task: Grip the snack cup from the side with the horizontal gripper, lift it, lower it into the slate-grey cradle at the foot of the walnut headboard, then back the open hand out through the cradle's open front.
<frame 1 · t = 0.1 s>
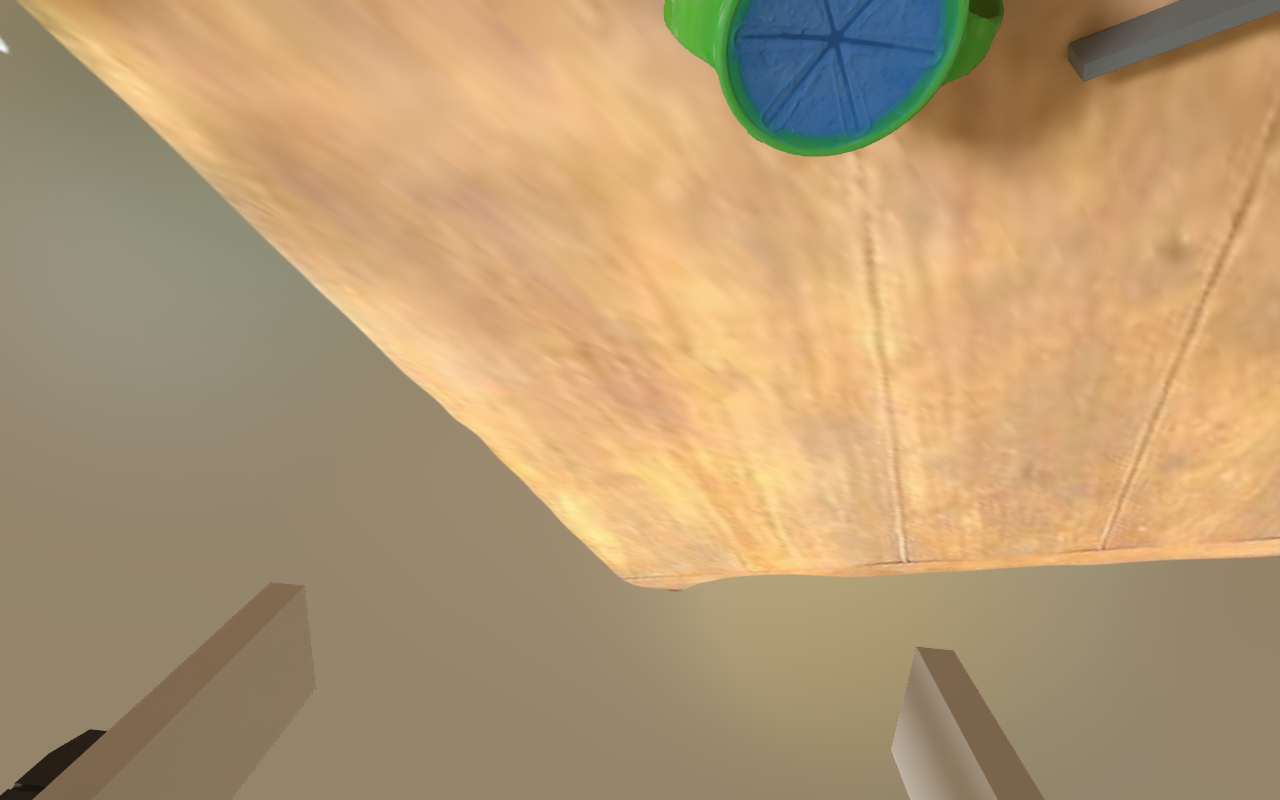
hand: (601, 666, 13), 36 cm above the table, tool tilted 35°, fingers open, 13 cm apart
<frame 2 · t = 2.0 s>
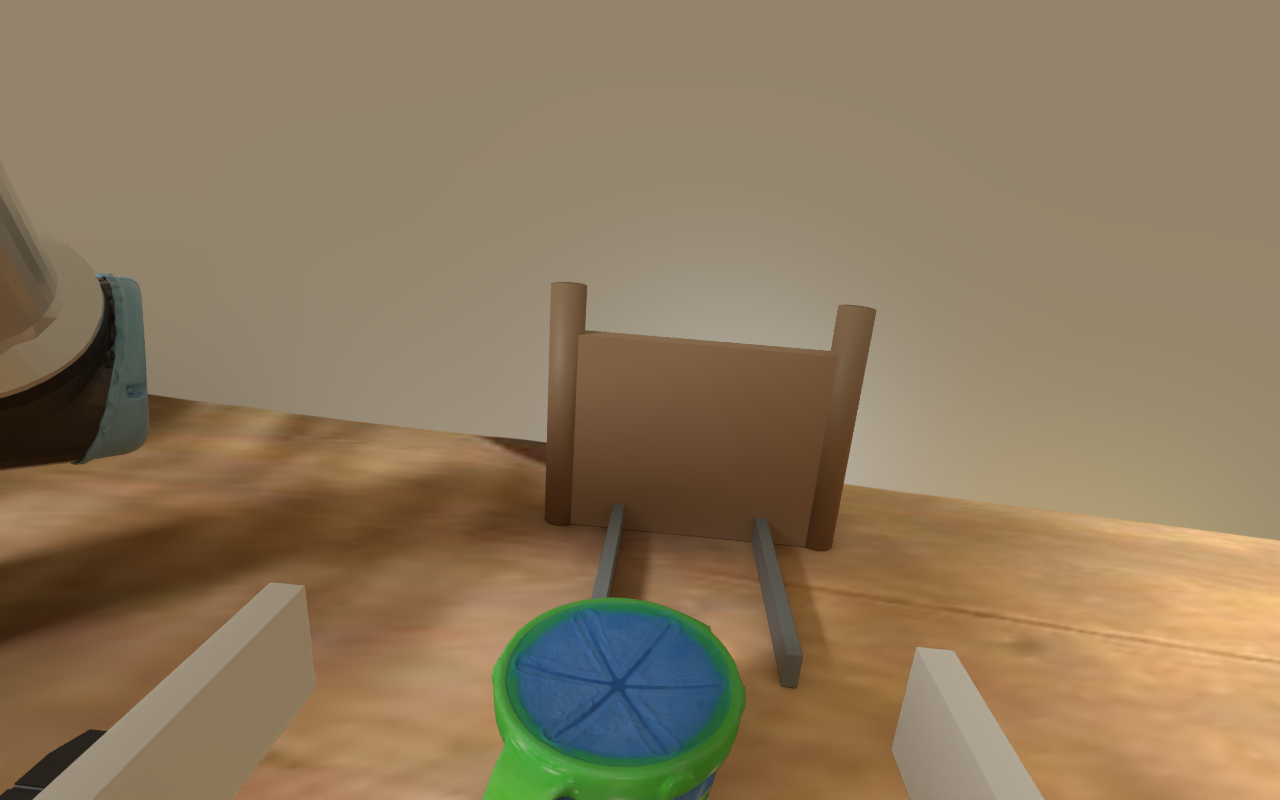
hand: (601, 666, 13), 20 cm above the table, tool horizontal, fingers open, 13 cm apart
headboard cradle: (687, 597, 48), on the table
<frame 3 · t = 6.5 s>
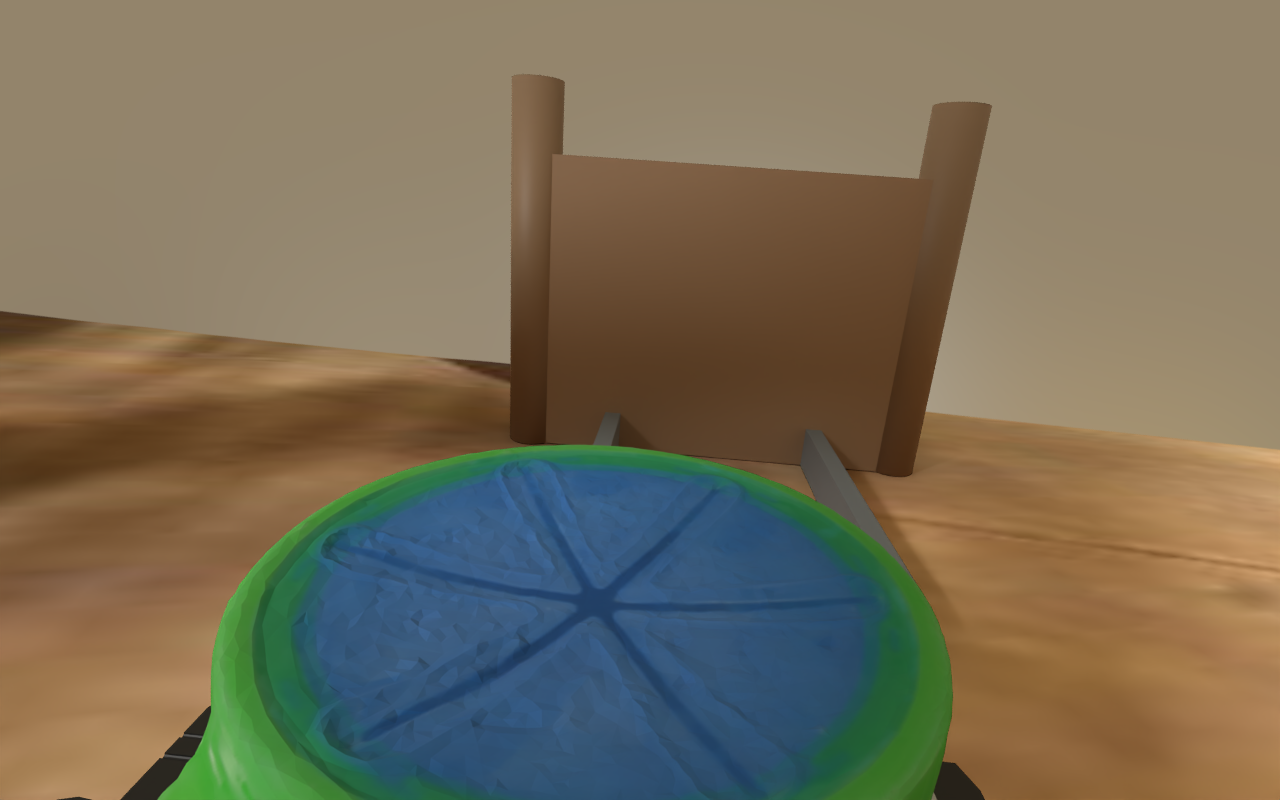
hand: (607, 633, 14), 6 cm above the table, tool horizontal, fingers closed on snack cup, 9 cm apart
headboard cradle: (716, 527, 32), on the table
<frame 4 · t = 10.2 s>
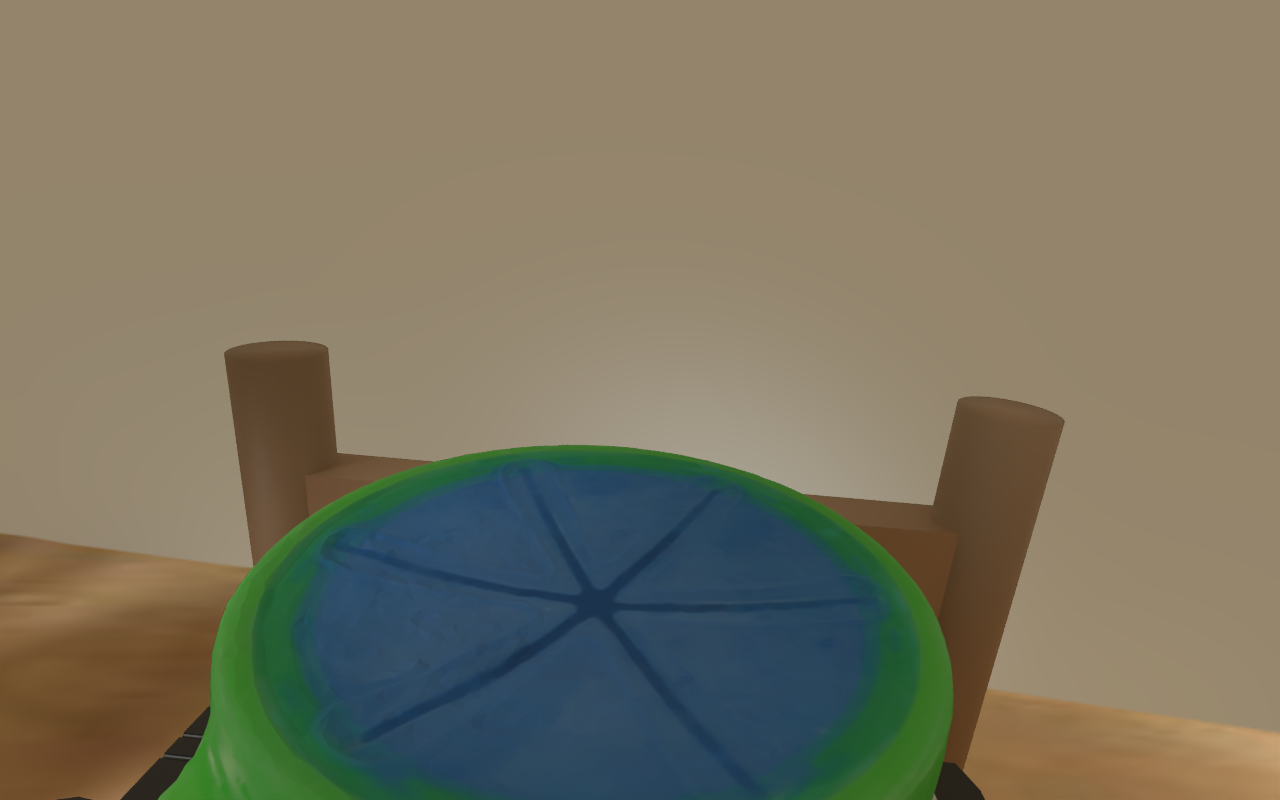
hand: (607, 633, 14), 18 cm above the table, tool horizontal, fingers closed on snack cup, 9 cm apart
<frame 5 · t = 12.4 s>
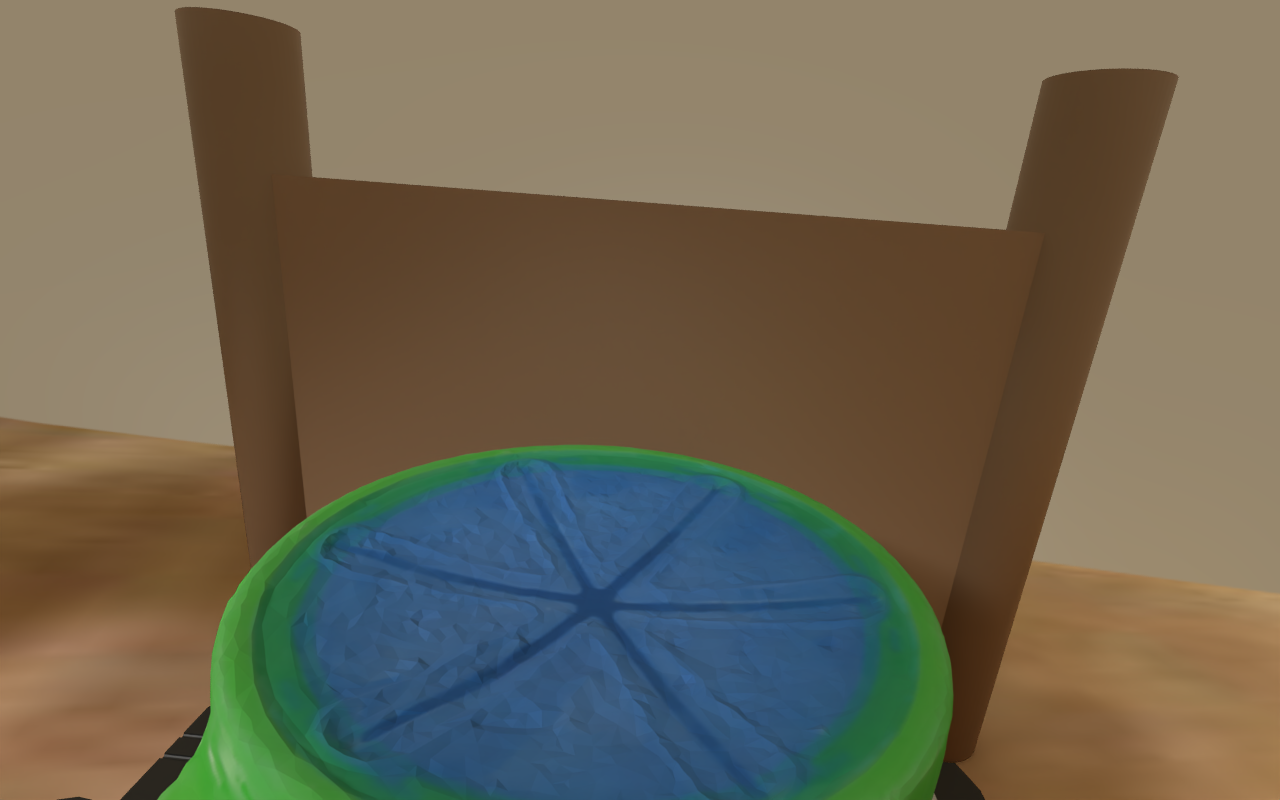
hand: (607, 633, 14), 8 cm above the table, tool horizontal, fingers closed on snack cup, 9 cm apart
when the fingers open (7 cm above the table, at t = 13.7 s): snack cup moves 3 cm, on the table.
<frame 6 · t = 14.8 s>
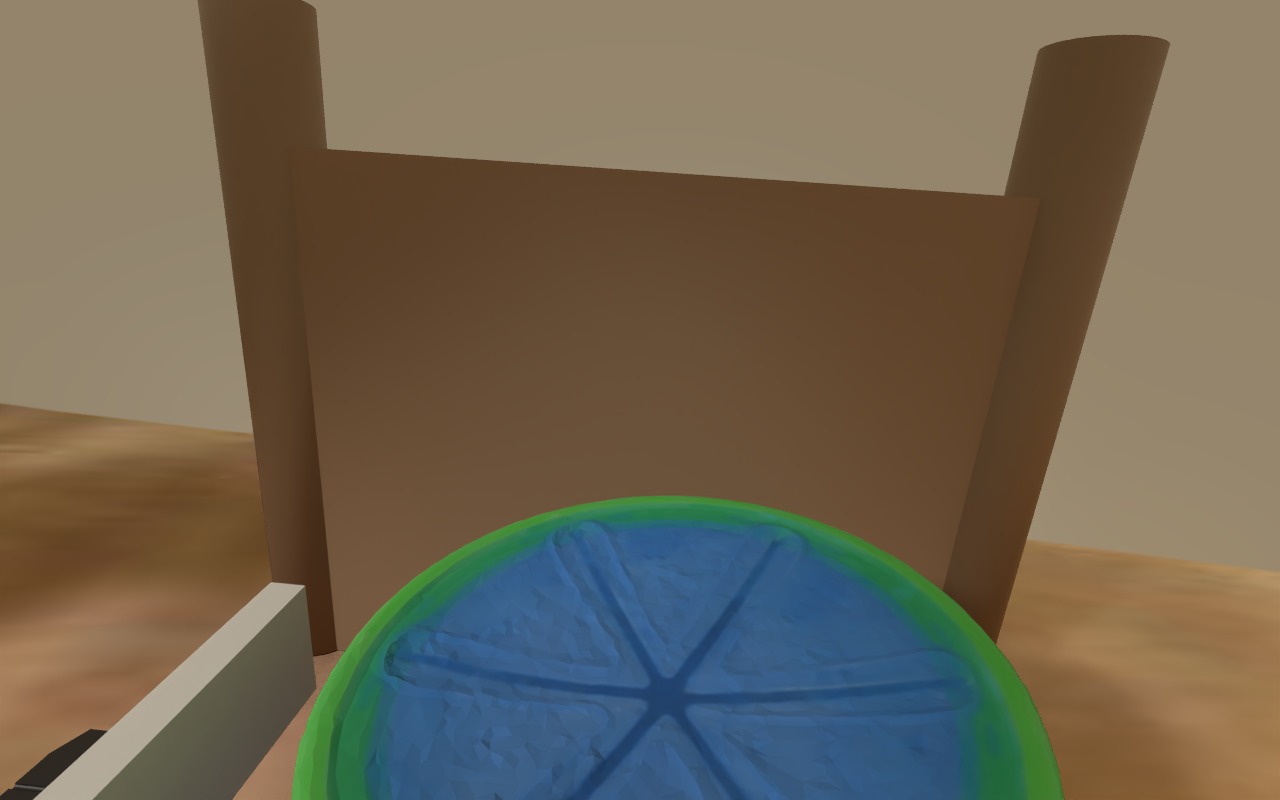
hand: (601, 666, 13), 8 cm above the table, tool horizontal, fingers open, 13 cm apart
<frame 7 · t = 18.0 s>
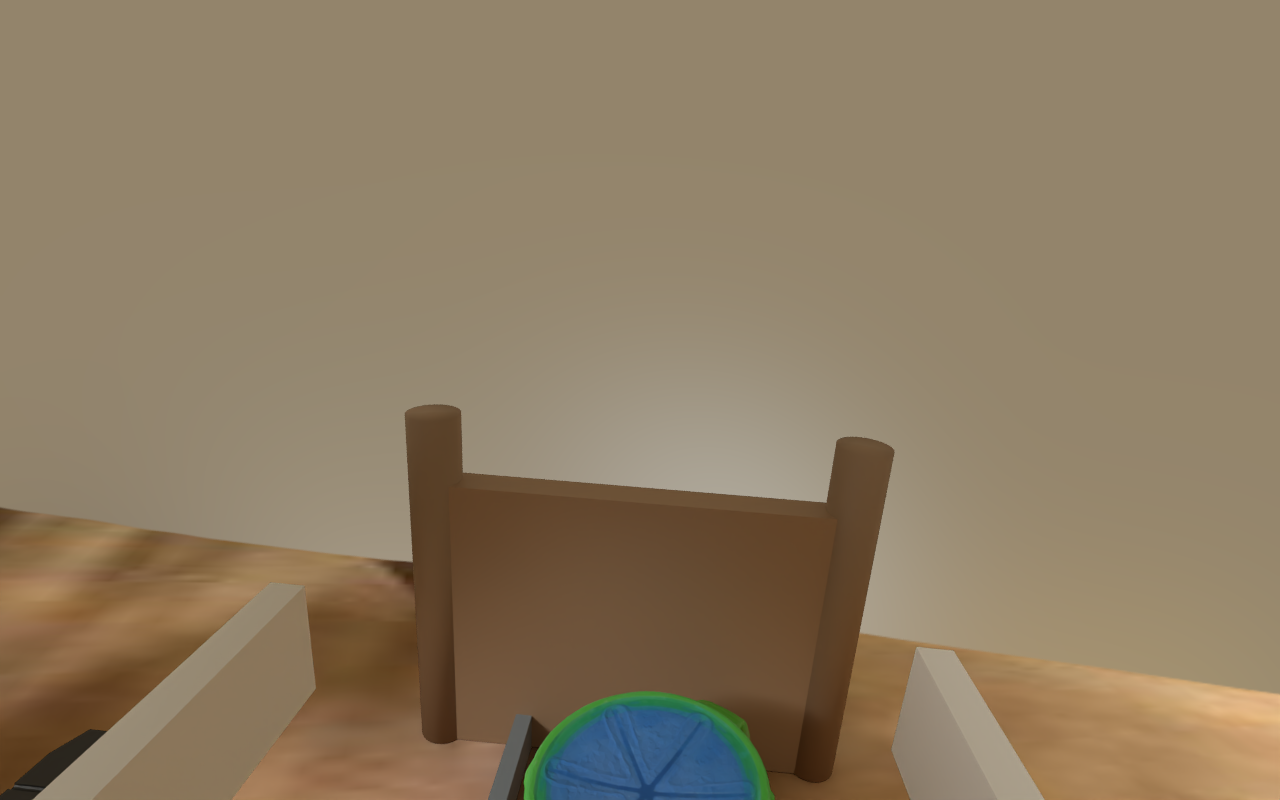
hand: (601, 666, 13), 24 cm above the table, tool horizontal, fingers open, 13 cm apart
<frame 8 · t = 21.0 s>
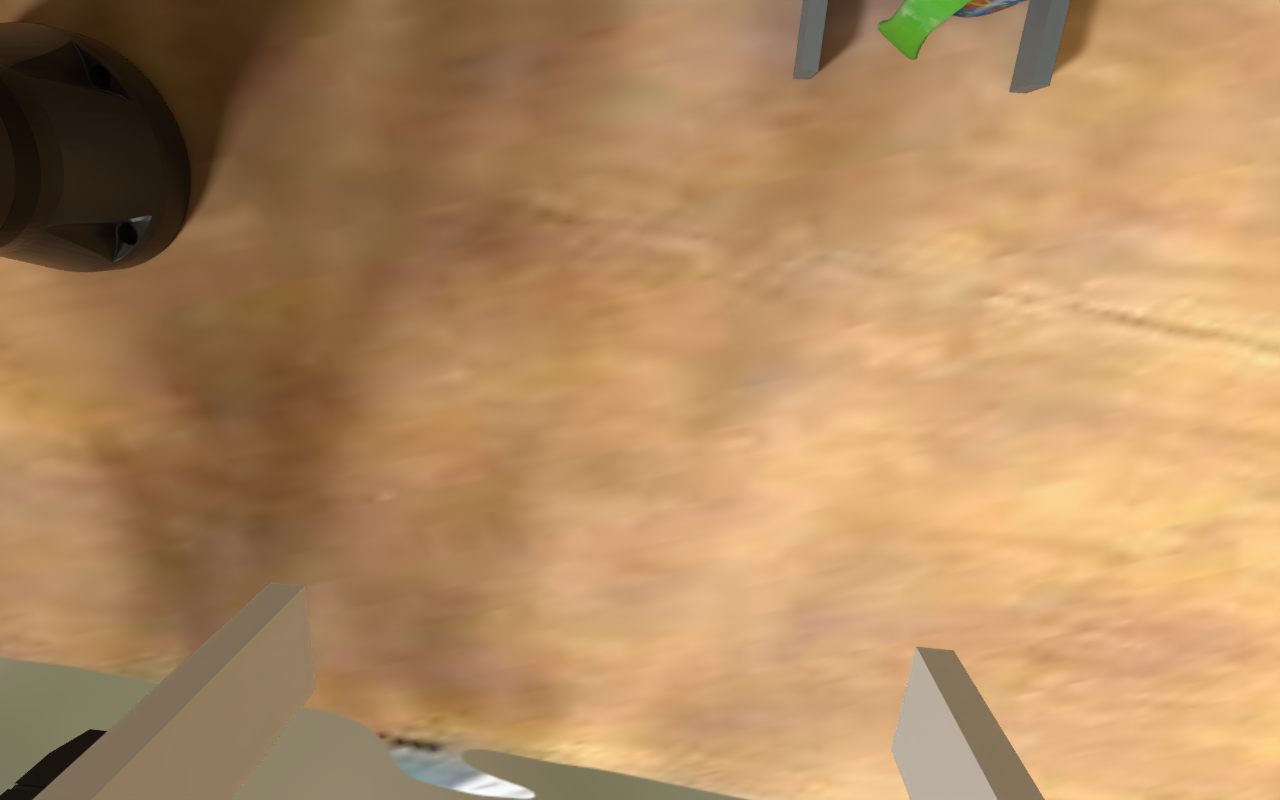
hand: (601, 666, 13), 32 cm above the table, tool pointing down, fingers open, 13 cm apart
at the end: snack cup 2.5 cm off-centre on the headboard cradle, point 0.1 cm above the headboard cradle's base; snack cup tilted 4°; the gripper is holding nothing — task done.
